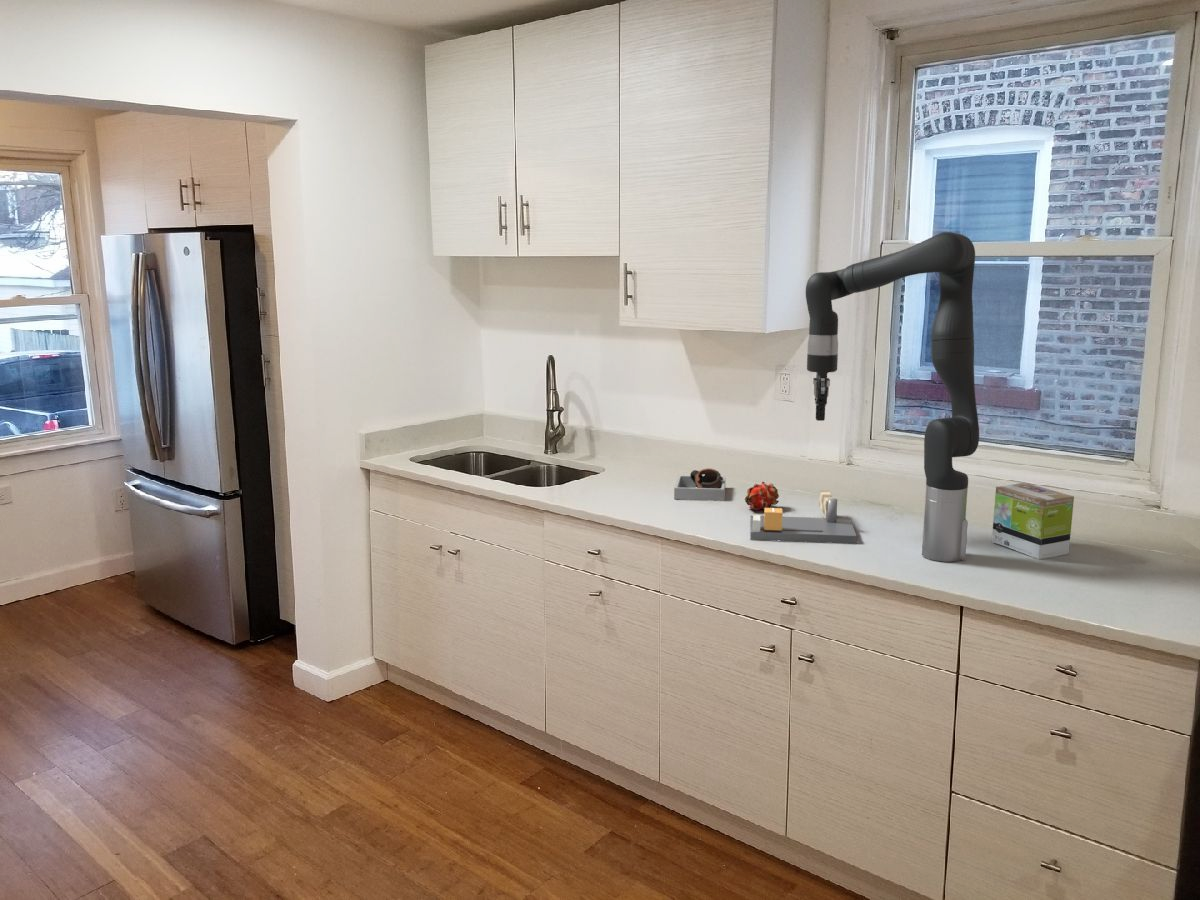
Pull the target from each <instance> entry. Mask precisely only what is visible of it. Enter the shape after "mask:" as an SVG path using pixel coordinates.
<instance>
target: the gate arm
mask: <svg viewBox="0 0 1200 900" xmlns="http://www.w3.org/2000/svg"><path fill="white" fill-rule="evenodd" d="M829 498H834V497H833V495H832V494H831V491H829V490H819V503H818V504H819V505H818V506H819V508H820V510H821V512H822V513H823V515H824V518H827V510H828V499H829Z"/></svg>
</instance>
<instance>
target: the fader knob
mask: <svg viewBox="0 0 1200 900" xmlns="http://www.w3.org/2000/svg"><path fill="white" fill-rule="evenodd" d="M763 510H764V511H763V512H764V515H763V516H764V530H782V517H783V513H784V512H783V508H781V507H780V508H779V507H777V508H776V507H771V508H764V509H763Z"/></svg>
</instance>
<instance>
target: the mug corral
mask: <svg viewBox="0 0 1200 900" xmlns="http://www.w3.org/2000/svg"><path fill="white" fill-rule="evenodd" d="M721 477H722V478H723V480H721V482H722V486H721V489H715V488H695V487H696V484H695V483H694V482H693V480H692V479H691V476H690V475H678V476H677V478H676V480H675V481H676V482H675V485H674V489H673V494H674V495H673V500H675V499H679V501H680V500H681V501H708V500H714V501H713V502H715V501H716V502H717V500H720V501H719V502H724V501H725V495H726V479H727V478H726V476H721ZM717 478H718V477H717ZM701 484H702V483H701Z"/></svg>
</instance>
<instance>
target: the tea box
mask: <svg viewBox="0 0 1200 900" xmlns="http://www.w3.org/2000/svg"><path fill="white" fill-rule="evenodd" d="M1074 500H1075V496H1074V495H1070V494H1066V493H1062V492H1059V491H1055V490H1053V489H1049V488H1046V487H1045V488H1044V487H1042V486H1038V485H1036V484H1035V485H1034V484H1031V483H1028V482H1020V483H1014V484H1013V483H1012V484H1009V485H1001V486H995V496H994V506H993V508H994V509H993V520H992V538H991V542H992V544H993V543H994V544H997V545H1000V546H1003V547H1006V548H1009V549H1010V550H1013V551H1017V552H1019V553H1020V554H1024V555H1027V556H1029V557H1032V558H1034V559H1037V560H1045V559H1049V558H1056V557H1061V556H1065V555H1068V554H1069V553H1070V552H1069V551H1070V542H1071V532H1072V522H1073V521H1072V520H1073V512H1074V502H1075V501H1074Z"/></svg>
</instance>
